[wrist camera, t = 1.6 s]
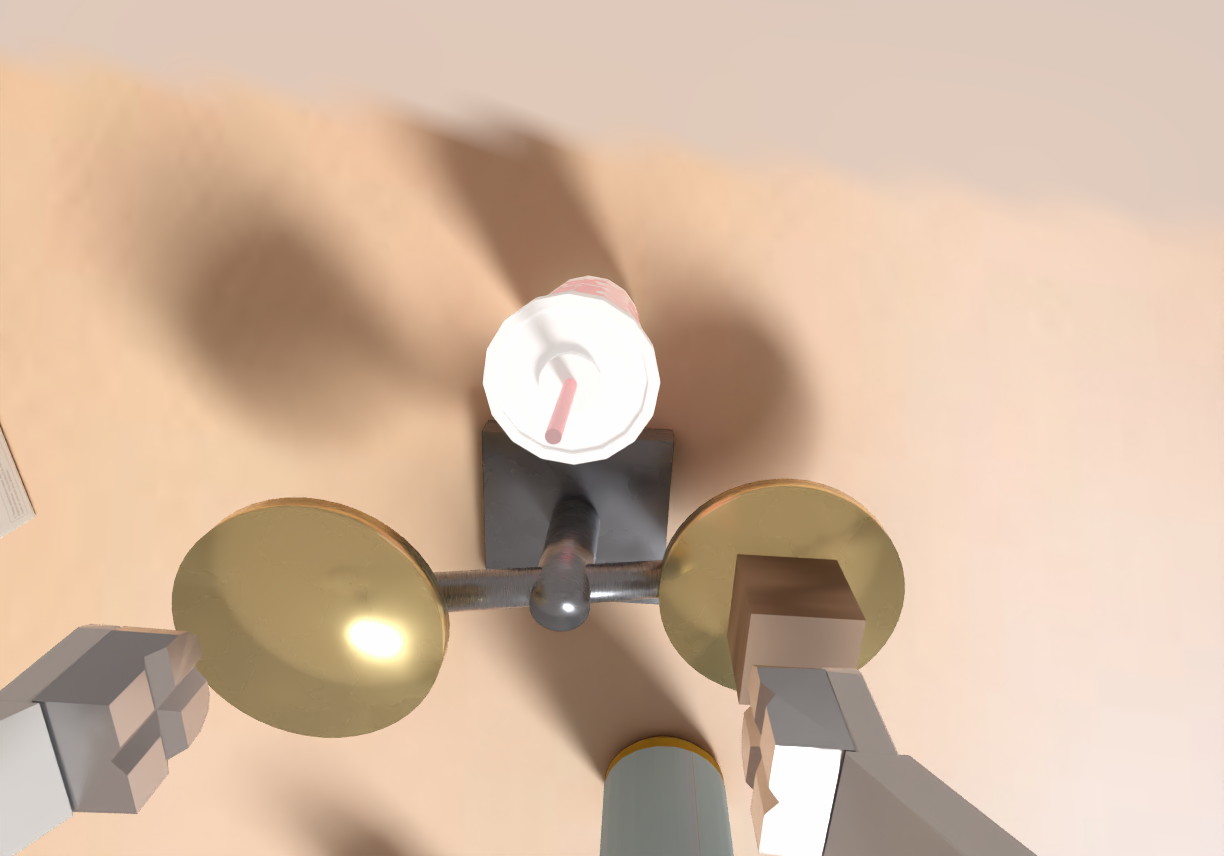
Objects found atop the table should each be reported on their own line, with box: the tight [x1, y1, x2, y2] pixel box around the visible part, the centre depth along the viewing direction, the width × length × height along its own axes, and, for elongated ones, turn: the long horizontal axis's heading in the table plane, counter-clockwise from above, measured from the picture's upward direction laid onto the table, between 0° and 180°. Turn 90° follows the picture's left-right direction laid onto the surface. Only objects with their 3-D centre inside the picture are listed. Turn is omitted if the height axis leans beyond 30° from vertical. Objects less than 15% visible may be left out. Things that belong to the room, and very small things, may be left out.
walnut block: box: [727, 554, 866, 705], centre depth 27 cm, size 4×4×4 cm
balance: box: [172, 420, 905, 738], centre depth 31 cm, size 28×10×11 cm, turn 88°
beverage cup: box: [483, 275, 660, 465], centre depth 26 cm, size 6×6×14 cm
